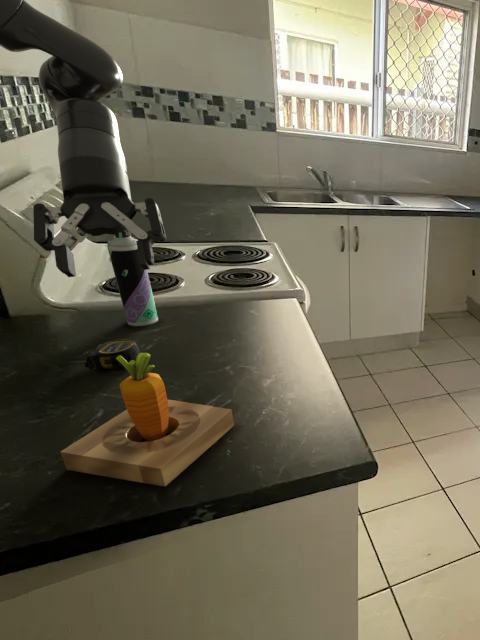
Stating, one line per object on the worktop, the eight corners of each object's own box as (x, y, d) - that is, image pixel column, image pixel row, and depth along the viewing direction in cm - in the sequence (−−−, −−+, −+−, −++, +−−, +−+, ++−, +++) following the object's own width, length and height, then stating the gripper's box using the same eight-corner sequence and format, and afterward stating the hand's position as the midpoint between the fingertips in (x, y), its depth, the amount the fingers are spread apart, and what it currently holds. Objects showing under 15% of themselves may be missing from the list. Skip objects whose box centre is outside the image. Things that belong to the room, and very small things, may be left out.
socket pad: (66, 470, 62) (59, 451, 61) (151, 412, 75) (147, 396, 74) (165, 487, 61) (160, 468, 60) (234, 425, 74) (231, 409, 73)
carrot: (128, 449, 67) (100, 356, 61) (163, 431, 71) (140, 342, 65) (152, 460, 65) (126, 365, 59) (186, 441, 70) (165, 350, 63)
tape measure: (104, 356, 89) (98, 338, 87) (147, 354, 91) (142, 337, 89) (87, 374, 83) (81, 355, 81) (133, 372, 85) (128, 353, 83)
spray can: (134, 328, 100) (110, 234, 92) (122, 320, 103) (98, 229, 94) (163, 321, 104) (142, 230, 96) (151, 314, 107) (130, 225, 98)
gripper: (15, 154, 63) (27, 265, 60) (145, 152, 69) (161, 253, 66) (44, 186, 69) (56, 288, 66) (160, 182, 75) (175, 275, 72)
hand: (108, 270), depth 66 cm, fingers open, 8 cm apart
